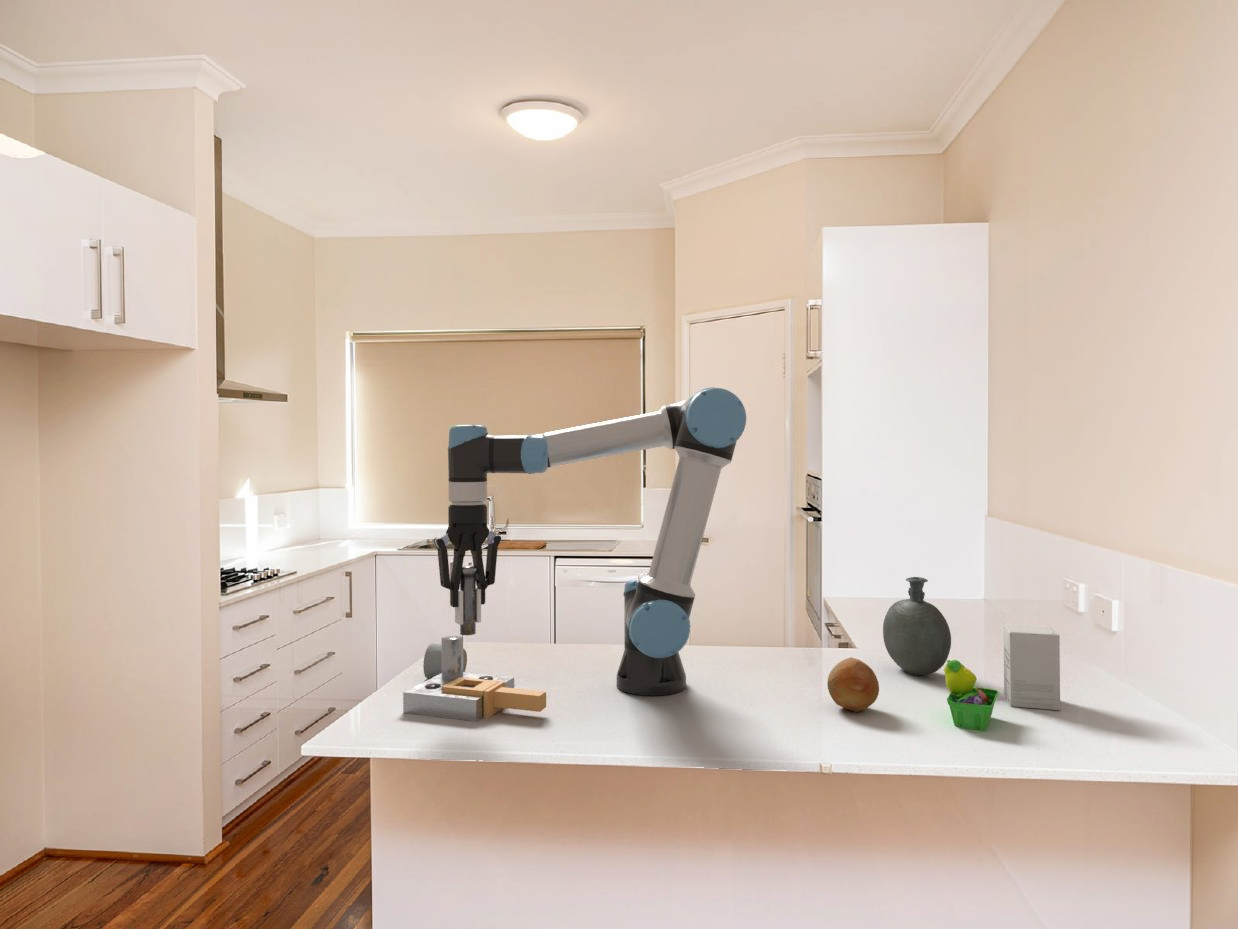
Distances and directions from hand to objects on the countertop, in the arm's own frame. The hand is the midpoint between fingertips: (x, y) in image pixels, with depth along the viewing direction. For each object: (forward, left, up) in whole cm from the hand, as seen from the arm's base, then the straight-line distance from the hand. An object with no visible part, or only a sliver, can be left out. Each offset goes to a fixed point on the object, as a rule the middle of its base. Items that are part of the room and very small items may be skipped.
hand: (468, 622), depth 153 cm
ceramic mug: (+16, -19, -18) cm, 30 cm away
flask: (-85, -54, -17) cm, 102 cm away
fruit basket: (-93, -23, -17) cm, 98 cm away
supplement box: (-106, -39, -17) cm, 114 cm away
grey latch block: (+3, -2, -17) cm, 18 cm away
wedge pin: (0, 0, -2) cm, 2 cm away
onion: (-72, -23, -17) cm, 78 cm away
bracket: (-6, 0, -17) cm, 18 cm away
